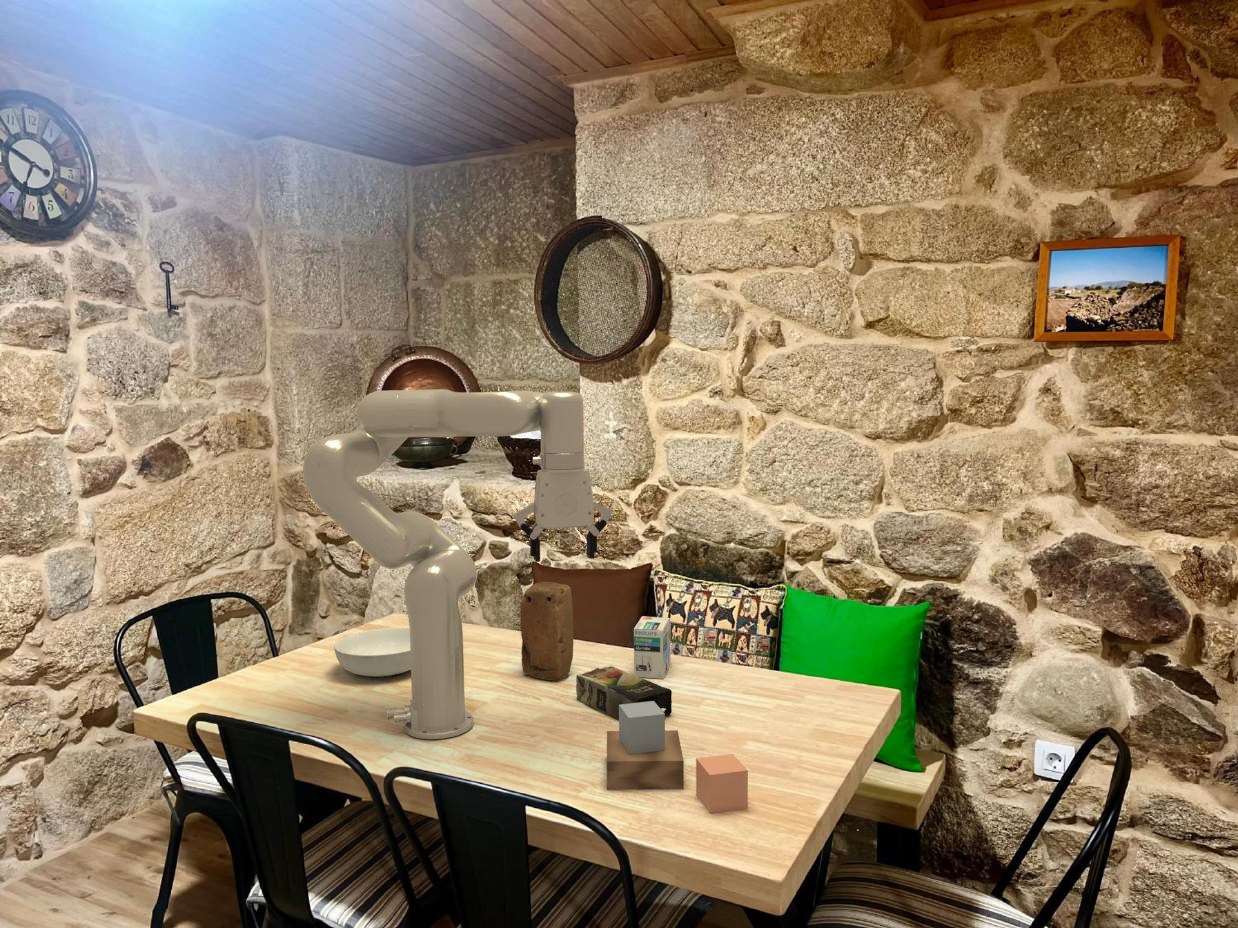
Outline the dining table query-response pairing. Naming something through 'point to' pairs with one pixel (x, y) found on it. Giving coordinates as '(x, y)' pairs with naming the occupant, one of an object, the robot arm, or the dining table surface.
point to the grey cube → (641, 727)
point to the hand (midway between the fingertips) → (563, 558)
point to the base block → (645, 765)
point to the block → (547, 630)
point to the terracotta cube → (721, 783)
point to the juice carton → (619, 691)
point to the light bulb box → (652, 647)
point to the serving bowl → (375, 652)
